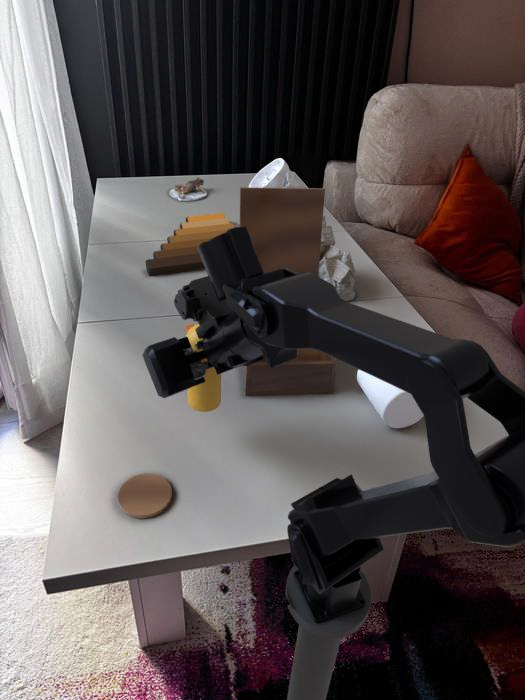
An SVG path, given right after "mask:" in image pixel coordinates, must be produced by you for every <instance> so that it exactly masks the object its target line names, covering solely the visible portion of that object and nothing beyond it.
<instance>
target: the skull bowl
mask: <svg viewBox="0 0 525 700" xmlns="http://www.w3.org/2000/svg"><path fill="white" fill-rule="evenodd" d="M295 175H296V172H295V171H292V170H291V169H290V168H289V165H288V163H287V162H286V160H284V159H283V158H281V157H279V158H276V159H274V160H273V161H271V162H269V163H268V164H267V165H265V166H264V167H263V168H261V169H260V170H259V171H258V172H257V173H256V174H255V176H254V177H253V178H252V179H251V180H250V182H249V184H248V187H254V188H301V187H300V186H301V185H300V183H299V182H298V181H297V180H296V179H295Z"/></svg>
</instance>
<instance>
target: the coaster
mask: <svg viewBox="0 0 525 700" xmlns="http://www.w3.org/2000/svg"><path fill="white" fill-rule="evenodd" d="M172 499H173V489H172V485H171V484H170V482H169V481H168V479H166V478H165V477H164V476H161V474H160V475H159V474H156V473H150V472H149V473H147V472H146V473H141V474H136V475H134V476H132V477H130V478H128V479H127V480H126V481H125V482H124V483H123V484H122V485H121V487H120V488H119V490H118V493H117V503H118V506H119V508H120V510H121V511H122V512H123V513H124V514H125V515H127V516H129V517H132V518H135V519H148V518H152V517H155V516H157V515H159V514H161V513H162V512H164V511H165V510H166V509H167V508H168V507H169V506H170V504H171V501H172Z"/></svg>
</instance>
